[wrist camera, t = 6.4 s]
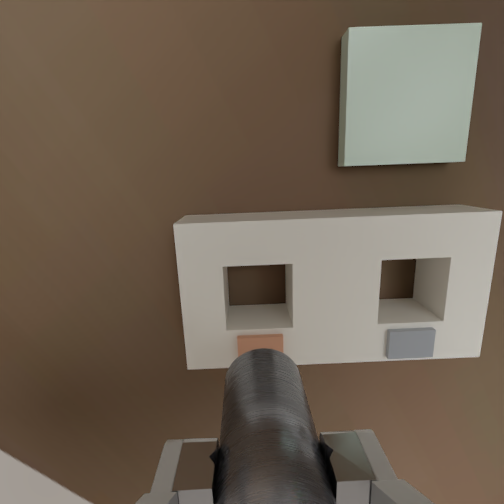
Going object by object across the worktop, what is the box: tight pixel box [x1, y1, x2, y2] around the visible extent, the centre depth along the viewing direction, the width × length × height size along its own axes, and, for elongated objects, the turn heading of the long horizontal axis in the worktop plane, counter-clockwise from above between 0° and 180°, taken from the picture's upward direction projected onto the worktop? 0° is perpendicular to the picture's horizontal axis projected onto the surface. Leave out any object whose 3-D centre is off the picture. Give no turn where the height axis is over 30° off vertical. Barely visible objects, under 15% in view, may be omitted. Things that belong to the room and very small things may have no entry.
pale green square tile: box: [338, 23, 482, 167], centre depth 21 cm, size 8×8×2 cm
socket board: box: [173, 204, 502, 370], centre depth 22 cm, size 20×10×4 cm, turn 92°
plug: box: [214, 348, 336, 504], centre depth 8 cm, size 3×3×9 cm
